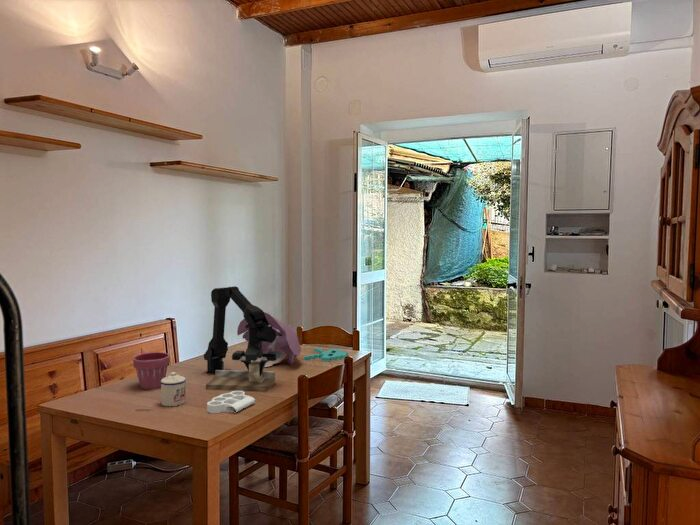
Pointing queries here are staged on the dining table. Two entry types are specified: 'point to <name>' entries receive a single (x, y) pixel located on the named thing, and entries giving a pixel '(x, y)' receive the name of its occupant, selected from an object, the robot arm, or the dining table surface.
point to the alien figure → (327, 354)
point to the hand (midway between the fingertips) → (255, 375)
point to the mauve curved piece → (277, 340)
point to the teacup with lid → (173, 390)
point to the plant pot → (151, 368)
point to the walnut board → (240, 381)
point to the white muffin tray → (229, 402)
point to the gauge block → (254, 371)
